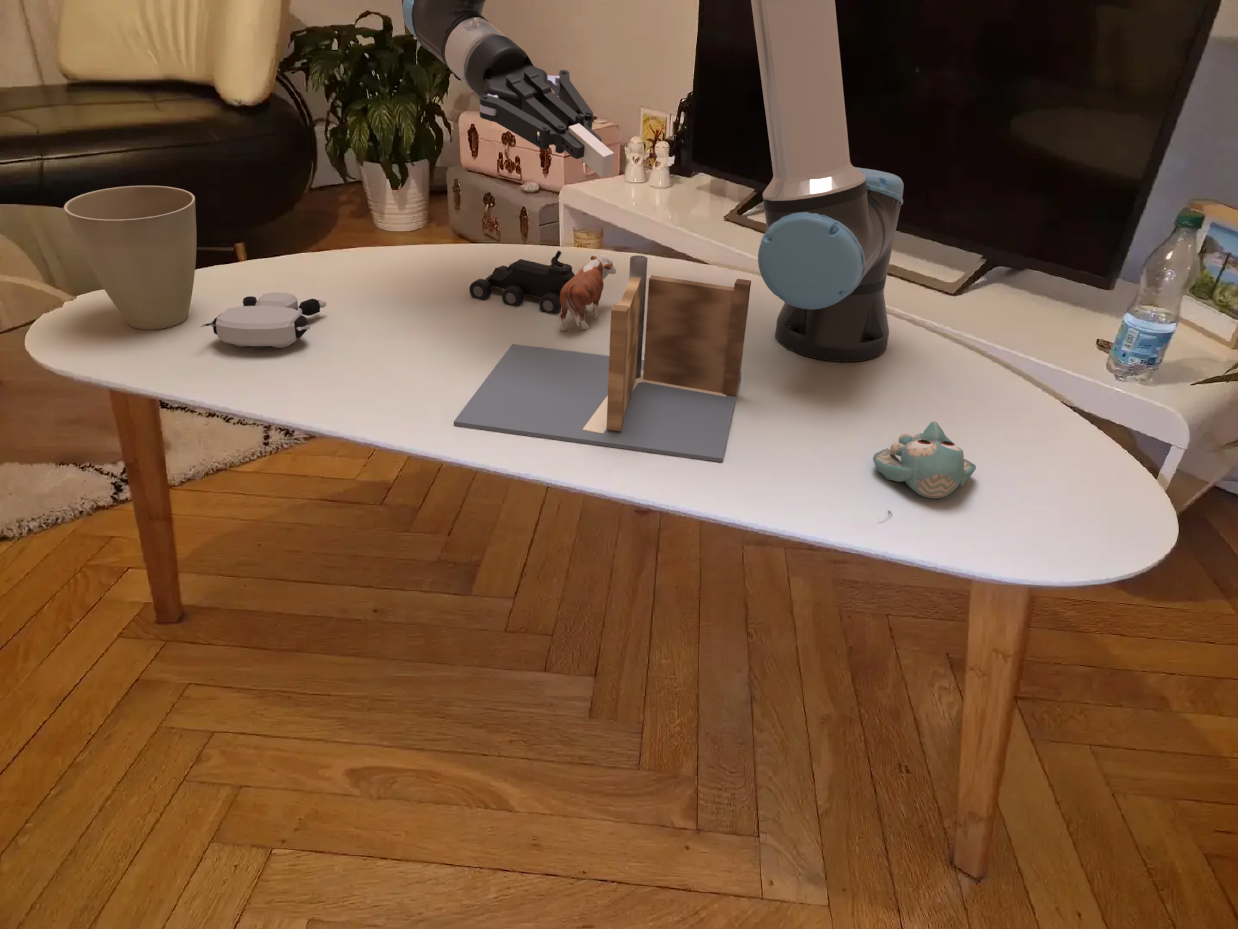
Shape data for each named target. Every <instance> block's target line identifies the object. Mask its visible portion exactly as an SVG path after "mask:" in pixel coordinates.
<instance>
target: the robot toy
mask: <svg viewBox="0 0 1238 929" xmlns="http://www.w3.org/2000/svg"><path fill="white" fill-rule="evenodd" d="M326 306H327V302H326V300H321V299H316V298H309V299H306V300H303V301H301V302H300V304H299V305H298V298H297V297H296V295H295V294H292V293H288V292H267V293H263V294H262V295H260V296H259V298H258V299H257V298H256V296H251V295H250V296H246V297H244V298H243V300H242V306H241V305H240V306H235V307H230V308H226V309H225V310H224V311H223V312H221V313H220V314H219V315H217V316H216V317H214V319H213V320H212V321H210V322H207V323H200V327H201V328H205V327H209V326H211V327H212V329H213V334H215V335H217V338H218V339H219V340H220V341H222V342H224V343H225V344H232V345H235V346H236V347H242V348H245V347H270V346H271V347H273V348H276V349H283V348H287V347H289V346H291V344H293V343H295V342H296V341H297V340H298V339H300V338H301V337H302V336H303V335H304V334H306V332H307V331H308V330H311V325H310V324H308V319H307V316H308V317H310V316H313V315H315V314H318V313H320V312H321V309H322V308H325V307H326Z"/></svg>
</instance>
